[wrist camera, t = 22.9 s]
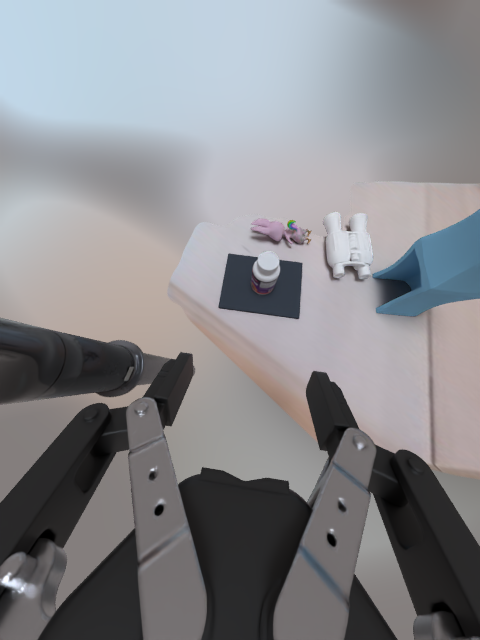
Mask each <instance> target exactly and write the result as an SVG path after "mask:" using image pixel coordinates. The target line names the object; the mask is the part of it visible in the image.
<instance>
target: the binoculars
mask: <svg viewBox="0 0 480 640" xmlns="http://www.w3.org/2000/svg"><path fill="white" fill-rule="evenodd" d="M340 220H341V215H340V213H338V212H332V213H330V214H328V215H327V216H325V217H324V219H323V224H324V226H325V227H326V231H327V233H328V236H327V237H326V240H325V241H326V251H327V262H328V264H329V265H330V266H331V267H332V268H333V276H334V278H341V277H343V276H344V275H345V272H344V267H345V266H353V267H354V269H355V270H358V274H359V279H367V278H369V277H370V276H371V273H370V268H369V266H370V265H371V263H372V261H373V251H372V245H371V239H370V235H369V234H368V233H367V232H366V224H367V220H368V216H367V214H365V213H358V214H356V215H354V216H352V217H351V218H350V220H349V226H350V228H351V231H341V223H340ZM350 258H351V262H350Z"/></svg>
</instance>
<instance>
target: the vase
mask: <svg viewBox="0 0 480 640" xmlns="http://www.w3.org/2000/svg"><path fill="white" fill-rule="evenodd" d="M373 278H381V279H392V280H402V281H405V282H406V283H407V284H409V286H410V288H411V292H409V293H406V294H404V295H402V296H400V297H398V298H396V299H394V300H392V301H390V302H388V303H386V304H384V305H382V306H380V307H378V308H376V313H382V314H392V315H403V316H417V315H419V314H421V313H422V312H424V311H426V310H428V309H431V308H433V307H436V306H439V305H442V304H446V303H451V302H457V301H463V300H471V299H479V298H480V209H479V210H478V211H476V212H475V213H473V214H472V215H471V216H469V217H467V218H465V219H464V220H462V221H460V222H458V223H456V224H454V225H452V226H450V227H448V228H446V229H443V230H441V231H438V232H436V233H433V234H430V235H427V236H425V237H422V238H420V239H419V240H417V241H416V242H415V243H414V244H413V245H412V246H411V248H410V249H409V250H408V251H407V252H406V253H405V254H404V256H403V257H401V258H400V259H399V260H398V261H397V262H396V263H395V264H393V265H391V266H390V267H388V268H386V269H384V270H382V271H379V272H377V273H374V274H373Z"/></svg>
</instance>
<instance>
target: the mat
mask: <svg viewBox="0 0 480 640" xmlns="http://www.w3.org/2000/svg"><path fill="white" fill-rule="evenodd" d="M257 260H258V257H251V256H243V255H235V254H228V259H227V264H226V270H225V275H224V280H223V286H222V291H221V297H220V302H219V308H223V309H230V310H237V311H245V312H252V313H259V314H267V315H274V316H281V317H288V318H296V319H299V313H300V296H301V279H302V263H299V262H291V261H283V260H279V266H280V273H279V276H278V279H277V281H276V284H275V286H274V288H273V290H272V291H271V292H270V293H268V294H265V295H261V294H258V293H256V292H255V291H254V290H253V289H252V286H251V279H252V271H253V265H254V263H255V262H256V261H257Z"/></svg>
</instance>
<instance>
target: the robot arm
mask: <svg viewBox="0 0 480 640" xmlns="http://www.w3.org/2000/svg"><path fill="white" fill-rule="evenodd" d="M136 369H137V360H136V357H135V354H134V353H133V352H132V351H131V350H130V349H129V348H127V347H125V346H120V345H114V344H110V343H106V342H101V341H97V340H93V339H88V338H84V337H80V336H75V335H71V334H67V333H62V332H57V331H53V330H49V329H44V328H41V327H36V326H32V325H28V324H24V323H19V322H16V321H12V320H8V319H4V318H0V405H3V404H12V403H19V402H26V401H34V400H41V399H49V398H56V397H64V396H72V395H79V394H87V393H95V392H103V391H114V390H118V389H121V388H123V387H124V386H126V385H127V384H128V383H129V382H130V381H131V380H132V378H133V377H134V375H135V372H136ZM192 376H193V357H192V354H189V353H182V352H181V353H180V354H179V355H178V357H177V359H176V360H175V359H171V360H169V361H168V362H167V363H165V364H164V366H163V367H162V369H161V371H160V372H159V373H158V375H157V377H156V378H155V379H154V381H153V382H152V384H151V385H150V387H149V388H148V390H147V391H146V393H145V395H144V396H143V397H142V398H140V399H137V400H135V401H134V402H133V403H131V404H130V406H127V407H123V408H116V409H109V408H108V406H107V405H106V404H103V403H96V404H92V405H90V406H88V407H86V408H84V409H82V410H81V411H80V412H79V413H78V414H77V415H76V416H75V417H74V419H73V420H72V421H71V422H70V423H69V424H68V425H67V427H66V428H65V429H64V430H63V431H62V432H61V433H60V435H59V436H58V437H57V438H56V439H55V440H54V442H53V443H52V444H51V445H50V446H49V447H48V449H47V450H46V451H45V452H44V453H43V454H42V456H41V457H40V458H39V459H38V460H37V461H36V463H35V464H34V465H33V466H32V467H31V468H30V469H29V471H28V472H27V473H26V474H25V475H24V476H23V478H22V479H21V480H20V481H19V482H18V483H17V485H16V486H15V487H14V488H13V489H12V490H11V491H10V493H9V494H8V495H7V496H6V497H5V498H4V500H3V501H2V502H1V503H0V640H397V638H396V637H395V635H394V633H393V632H392V630H391V629H390V628H389V626H388V624H387V623H386V621H385V620H384V618H383V617H382V615H381V614H380V612H379V611H378V609H377V607H376V606H375V605H374V603H373V601H372V600H371V598H370V597H369V595H368V594H367V592H366V591H365V589H364V588H363V586H362V585H361V583H360V581H359V580H358V578H357V577H356V575H355V574H354V571H355V567H356V562H357V558H358V553H359V548H360V544H361V539H362V534H363V530H364V526H365V521H366V516H367V512H368V507H369V503H370V497H371V494H370V492H371V493H373V495H374V498H375V500H376V503H377V506H378V509H379V512H380V514H381V517H382V520H383V523H384V525H385V528H386V531H387V534H388V536H389V539H390V542H391V544H392V547H393V550H394V553H395V556H396V558H397V561H398V564H399V567H400V569H401V572H402V575H403V578H404V580H405V583H406V586H407V589H408V591H409V594H410V597H411V600H412V603H413V605H414V608H415V611H416V614H417V617H416V619H415V621H414V625H413V632H414V633H413V634H414V640H480V546H479V545H478V543H477V542H476V540H475V539H474V537H473V535H472V534H471V532H470V530H469V529H468V527H467V526H466V524H465V523H464V521H463V519H462V518H461V516H460V515H459V513H458V511H457V510H456V508H455V507H454V505H453V503H452V502H451V501H450V499H449V497H448V496H447V494H446V492H445V491H444V489H443V488H442V486H441V485H440V483H439V481H438V480H437V478H436V477H435V475H434V473H433V472H432V470H431V469H430V467H429V466H428V465H427V464H426V463H425V462H424V461H423V460H422V459H421V458H420V457H419V456H417V455H416V454H414V453H412V452H410V451H407V450H399V451H397V452H396V453H395V454H394V453H392V452H390V451H388V450H385V449H383V448H381V447H379V446H377V445H375V444H374V442H373V441H372V440H371V438H370V437H369V436H368V435H367V434H366V433H364V432H363V431H361V430H360V429H359V427H358V425H357V423H356V421H355V419H354V417H353V415H352V412H351V410H350V408H349V406H348V405H347V402H346V400H345V398H344V395H343V393H342V391H341V389H340V388H339V387H338V386H337V385H336V384H335V382H330V380H329V377H328V375H327V373H324V372H317V371H313V372H312V375H311V377H310V380H309V383H308V385H307V388H306V397H307V401H308V405H309V409H310V413H311V417H312V421H313V424H314V428H315V432H316V436H317V440H318V444H319V448H320V450H324V451H328V455H329V458H328V459H327V461H326V463H325V466H324V468H323V470H322V472H321V475H320V477H319V479H318V481H317V484H316V486H315V488H314V490H313V492H312V494H311V496H310V497H309V499H308V502H306V501H305V500H304V499H303V498H302V497H300V496H299V495H298V494H297V493H295V492H294V491H292V490H290V489H289V482H288V481H284V480H278V479H271V478H263V479H257V480H251V481H243V480H240V479H239V478H236V477H234V476H233V475H231V474H229V473H226V472H225V471H221V470H215V469H210V468H203V467H202V470H201V474H198V475H194V476H191V477H189V478H187V479H185V480H184V481H182V482H181V483H179V484H178V483H177V479H176V475H175V472H174V467H173V464H172V460H171V456H170V452H169V449H168V444H167V441H166V437H165V435H164V431H163V429H164V428H165V425H166V426H172V424H173V421H174V419H175V417H176V414H177V412H178V409H179V407H180V405H181V403H182V400H183V398H184V395H185V393H186V391H187V389H188V386H189V384H190V382H191V379H192ZM129 449H130V452H129V454H128V459H129V471H130V481H131V492H132V503H133V513H134V523H135V528H134V529H133V530H132V532H131V533H130V534H129V535H128V536H127V537H126V538H125V539H124V540H123V541H122V542H121V543H120V544H119V545H118V546H117V547H116V548H115V549H114V550H113V551H112V552H111V553H110V554H109V555H108V556H107V557H106V558H105V559H104V560H103V561H102V562H101V563H100V564H99V565H98V566H97V568H95V569H94V571H93V572H92V573H91V574H90V575H89V576H88V577H87V578H86V579H85V580H84V581H83V582H82V583H81V584H80V585H79V586H78V587H77V588H76V589H75V590H74V591H73V592H72V593H71V594H70V595H69V596H68V597H67V598H66V600H65V601H64V602H63V603H62V605H61V606H60V607H59V608H58V609H57V611H56V608H55V601H56V594H57V590H58V587H59V584H60V582H61V579H62V577H63V575H64V572H65V569H66V564H67V556H66V553H65V551H64V550H63V547H64V545H65V544H66V542H67V540H68V538H69V537H70V535H71V533H72V531H73V529H74V527H75V526H76V524H77V522H78V520H79V519H80V517H81V515H82V513H83V512H84V510H85V508H86V506H87V504H88V503H89V500H90V499H91V497H92V495H93V494H94V492H95V490H96V488H97V486H98V484H99V483H100V481H101V479H102V477H103V476H104V474H105V472H106V470H107V468H108V467H109V465H110V463H111V461H112V459H113V457H114V456H115V454H116V452H119V451H124V450H129Z"/></svg>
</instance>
